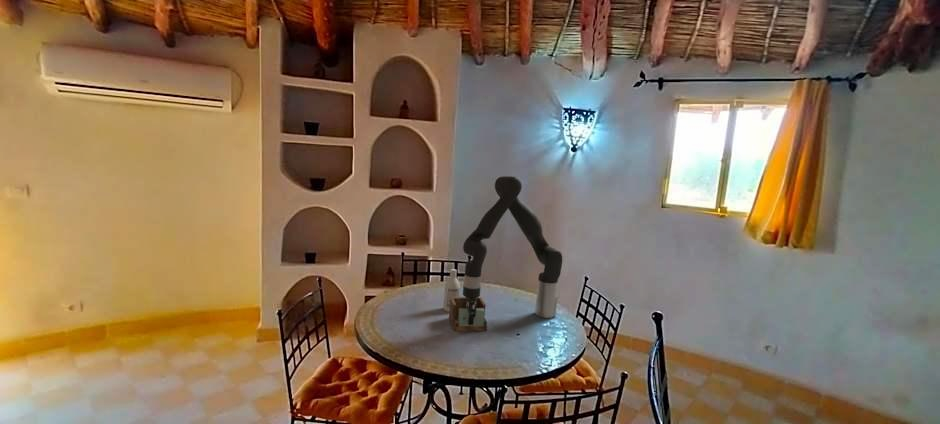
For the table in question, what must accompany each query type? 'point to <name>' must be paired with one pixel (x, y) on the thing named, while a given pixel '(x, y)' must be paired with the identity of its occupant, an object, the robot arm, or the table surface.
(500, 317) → the table surface
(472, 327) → the cabinet
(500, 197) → the robot arm
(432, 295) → the table surface
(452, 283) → the bath foam
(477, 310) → the block
